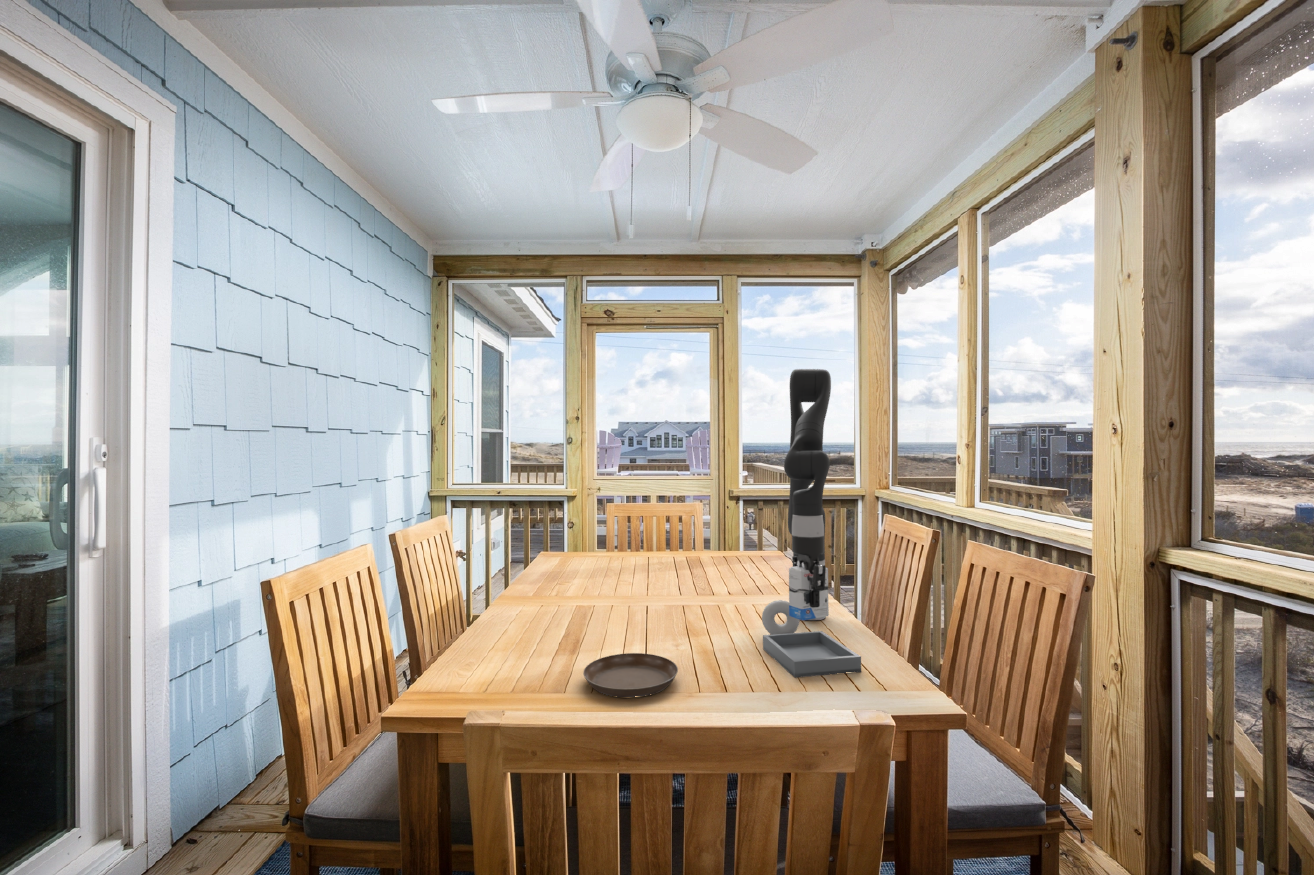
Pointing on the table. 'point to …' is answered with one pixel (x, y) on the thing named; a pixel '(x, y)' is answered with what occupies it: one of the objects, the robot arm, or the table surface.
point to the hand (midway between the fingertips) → (808, 603)
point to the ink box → (805, 595)
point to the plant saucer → (630, 674)
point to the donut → (769, 620)
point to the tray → (811, 654)
